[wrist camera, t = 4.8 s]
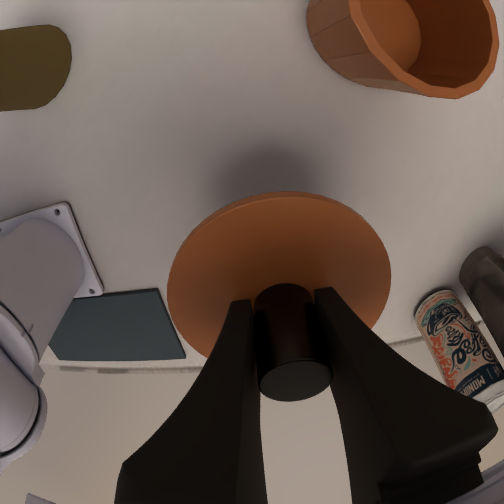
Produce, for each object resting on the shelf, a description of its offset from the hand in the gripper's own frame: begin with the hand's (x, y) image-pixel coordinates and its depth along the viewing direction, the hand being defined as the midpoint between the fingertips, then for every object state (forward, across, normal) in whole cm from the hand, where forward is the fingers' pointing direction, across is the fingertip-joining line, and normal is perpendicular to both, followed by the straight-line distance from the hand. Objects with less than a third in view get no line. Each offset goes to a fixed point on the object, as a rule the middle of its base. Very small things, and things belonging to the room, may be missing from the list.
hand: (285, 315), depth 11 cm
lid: (+1, 0, 0) cm, 1 cm away
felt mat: (+10, +16, +10) cm, 22 cm away
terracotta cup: (+10, -8, -11) cm, 17 cm away
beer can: (+10, -15, +12) cm, 22 cm away
